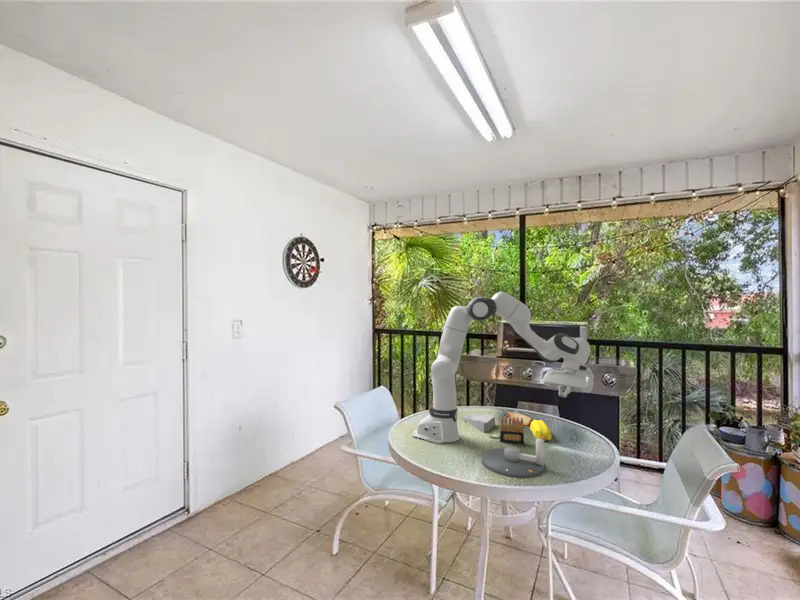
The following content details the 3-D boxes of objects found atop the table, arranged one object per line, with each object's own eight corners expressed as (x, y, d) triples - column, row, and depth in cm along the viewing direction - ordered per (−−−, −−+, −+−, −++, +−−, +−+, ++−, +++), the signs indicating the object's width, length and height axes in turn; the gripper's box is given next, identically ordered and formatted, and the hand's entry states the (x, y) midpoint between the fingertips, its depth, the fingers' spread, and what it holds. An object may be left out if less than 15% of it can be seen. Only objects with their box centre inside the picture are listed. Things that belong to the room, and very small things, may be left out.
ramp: (458, 416, 214) (458, 407, 214) (486, 416, 215) (486, 407, 215) (469, 433, 186) (469, 422, 186) (501, 433, 187) (501, 422, 187)
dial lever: (502, 460, 149) (503, 436, 149) (505, 455, 154) (505, 432, 154) (543, 467, 142) (543, 443, 142) (544, 461, 148) (544, 438, 148)
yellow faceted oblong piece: (536, 442, 174) (553, 443, 173) (536, 428, 174) (553, 428, 173) (528, 429, 192) (544, 430, 191) (528, 416, 192) (544, 417, 191)
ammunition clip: (500, 441, 174) (500, 416, 174) (499, 440, 176) (499, 414, 176) (524, 444, 171) (524, 417, 172) (523, 442, 173) (523, 416, 173)
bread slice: (509, 414, 219) (509, 408, 219) (540, 421, 207) (540, 414, 207) (495, 421, 205) (495, 415, 205) (527, 429, 193) (527, 421, 193)
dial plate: (474, 469, 145) (474, 464, 145) (488, 448, 166) (488, 444, 166) (540, 482, 134) (540, 477, 134) (546, 457, 156) (546, 453, 156)
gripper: (546, 363, 172) (536, 387, 165) (593, 368, 156) (584, 395, 150) (551, 371, 175) (541, 396, 168) (597, 377, 159) (588, 405, 153)
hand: (561, 396), depth 159 cm, fingers closed
